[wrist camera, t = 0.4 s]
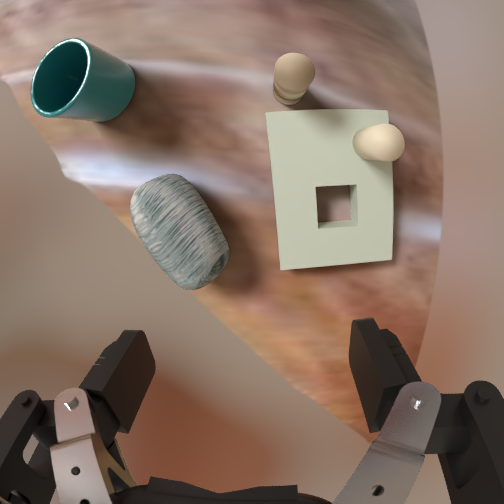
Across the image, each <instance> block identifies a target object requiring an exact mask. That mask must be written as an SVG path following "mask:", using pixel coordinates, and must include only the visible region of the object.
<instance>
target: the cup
mask: <svg viewBox="0 0 504 504" xmlns="http://www.w3.org/2000/svg"><path fill="white" fill-rule="evenodd" d="M134 90H135V76H134V72H133V70H132V69H131V67H130V66H129V65H128V64H127V63H126V62H124V61H122V60H120V59H119V58H117V57H115V56H113V55H111V54H109V53H107V52H106V51H104V50H102V49H100V48H98V47H96V46H94V45H92V44H90V43H88V42H86V41H84V40H82V39H79V38H69V39H66V40H63V41H61V42H59V43H58V44H56V45H55V46H54V47H52V48H51V49H50V50H49V51H48V52H47V53H46V54H45V56H44V57H43V58H42V60H41V61H40V63H39V65H38V66H37V68H36V71H35V73H34V76H33V79H32V84H31V101H32V104H33V107H34V109H35V110H36V111H37V113H39V114H40V115H42V116H44V117H50V118H63V119H75V120H85V121H94V122H104V121H108V120H111V119H113V118H115V117H116V116H118V115H119V114H120V113H121V112H122V111H123V110H124V109H125V108H126V107H127V105H128V104H129V102H130V101H131V99H132V96H133V93H134Z"/></svg>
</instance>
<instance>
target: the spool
mask: <svg viewBox="0 0 504 504" xmlns="http://www.w3.org/2000/svg"><path fill="white" fill-rule="evenodd" d="M130 212H131V218H132V222H133V224H134V227H135V229H136V232H137V234H138V235H139V237H140V239H141V241H142V242H143V244H144V246H145V247H146V249H147V250H148V252H149V253H150V255H151V256H152V257H153V259H154V260H155V261H156V262H157V264H158V265H159V266H160V267H161V269H162V270H163V271H164V272H165V273H166V274H167V275H168V276H169V277H170V278H171V279H172V280H173V281H174V282H175V283H176V284H177V285H178V286H179V287H181V288H183V289H186V290H195V289H199V288H202V287H204V286H205V285H207V284H209V283H210V282H211V281H213V280H214V279H215V278H216V277H217V276H218V275H219V274H220V273H221V272H222V270H223V269H224V267H225V266H226V264H227V262H228V259H229V255H230V250H229V247H228V243H227V241H226V239H225V237H224V235H223V233H222V231H221V229H220V227H219V226H218V224H217V222H216V220H215V218H214V216H213V215H212V213H211V212H210V210H209V208H208V207H207V205H206V203H205V202H204V200H203V199H202V198H201V196H200V195H199V193H198V192H197V191H196V190H195V188H194V187H193V185H192V184H191V183H190V182H188V181H187V180H186V179H185V178H183V177H182V176H180V175H177V174H167V175H162V176H160V177H157V178H154V179H152V180H150V181H148V182H146V183H144V184H143V185H141V186H139V187H138V188H137V189H136V190H135V192H134V194H133V196H132V199H131V204H130Z"/></svg>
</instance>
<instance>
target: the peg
mask: <svg viewBox="0 0 504 504" xmlns="http://www.w3.org/2000/svg"><path fill="white" fill-rule="evenodd" d="M314 77H315V67H314V64H313V63H312V61H311V60H310V59H309V58H308V57H306V56H304V55H302V54H299V53H288V54H285V55H283V56H281V57H280V58H279V59H278V60H277V62H276V64H275V72H274V84H273V94H274V96H275V98H276V99H277V100H278V101H279V102H280V103H282V104H285V105H293V104H296V103H298V102H299V101H300V100H301V99H302V97H303V95H304V94H305V92H306V90H307V89H308V87H309V85H310V84H311V82H312V81H313V79H314Z"/></svg>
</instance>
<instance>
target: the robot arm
mask: <svg viewBox="0 0 504 504" xmlns="http://www.w3.org/2000/svg"><path fill="white" fill-rule="evenodd" d="M349 364H350V368H351V371H352V375H353V378H354V381H355V384H356V387H357V391H358V394H359V397H360V401H361V404H362V407H363V411H364V414H365V418H366V421H367V425H368V428H369V432H370V433H373V432H378V431H380V432H379V434H378V436H377V438H376V439H375V441H373V442H372V444H371V445H370V447H369V449H368V450H367V452H366V454H365V455H364V457H363V459H362V460H361V462H360V463H359V465H358V467H357V468H356V470H355V471H354V473H353V474H352V476H351V477H350V479H349V480H348V482H347V483H346V485H345V486H344V488H343V489H342V490H341V492H340V493H339V495H338V496H337V497H336V499H335V500H334V501H333V503H331V502H329V501H327V500H325V499H322V498H319V497H316V496H313V495H308V494H303V493H298V491H297V485H289V486H265V487H264V486H262V487H254V488H249V489H244V490H238V491H232V492H226V493H215V492H212V491H209V490H205V489H203V488H199V487H196V486H194V485H191V484H188V483H185V482H181V481H174V480H168V479H162V478H156V477H150V480H149V483H148V484H147V485H139V486H138V485H137V483H136V482H135V481H134V479H133V477H132V476H131V473H130V471H129V469H128V466H127V464H126V462H125V459H124V457H123V454H122V452H121V449H120V446H119V443H118V441H117V439H116V438H115V435H116V433H117V431H118V432H122V433H129V431H130V429H131V426H132V424H133V422H134V419H135V417H136V415H137V412H138V410H139V408H140V405H141V403H142V401H143V398H144V396H145V394H146V392H147V389H148V387H149V385H150V383H151V381H152V378H153V376H154V374H155V360H154V357H153V354H152V352H151V349H150V346H149V343H148V341H147V338H146V335H145V333H144V332H143V331H142V330H124V331H123V332H122V334H121V335H120V337H119V338H118V340H117V341H115V342H113V343H112V344H110V345H109V346H108V347H106V348H105V349H104V351H103V352H102V354H101V355H100V358H99V359H98V360H97V361H96V362H95V365H93V367H92V368H91V370H90V371H89V373H88V374H87V376H86V377H85V379H84V380H83V382H82V383H81V385H80V386H79V388H69V389H67V390H64V391H63V392H61V393H60V394H59V395H58V396H57V397H56V399H55V400H45V401H42V400H41V398H40V397H39V395H38V394H37V393H36V392H35V391H33V390H26V391H23V392H21V393H19V394H18V395H17V396H16V397H15V398H14V400H13V401H12V402H11V404H10V406H9V407H8V408H7V410H6V411H5V413H4V415H3V416H2V417H1V419H0V504H50V501H51V499H52V496H53V494H54V491H55V489H56V486H57V491H58V495H59V499H60V504H404V503H405V501H406V499H407V497H408V495H409V493H410V491H411V489H412V487H413V485H414V483H415V481H416V478H417V476H418V474H419V472H420V469H421V467H422V464H423V462H424V458H425V456H424V455H423V454H438V458H439V461H440V464H441V467H442V471H443V474H444V478H445V481H446V485H447V489H448V492H449V496H450V500H451V504H504V399H503V397H502V395H501V394H500V392H499V390H498V389H497V388H496V387H495V386H494V385H493V384H491V383H489V382H487V381H475V382H472V383H471V384H469V385H468V386H467V388H466V389H465V391H464V393H463V394H462V393H461V394H441V393H439V391H438V390H437V389H436V388H435V387H434V386H433V385H431V384H429V383H426V382H422V381H421V379H420V377H419V375H418V373H417V371H416V370H415V368H414V366H413V364H412V362H411V361H410V359H409V357H408V355H407V354H406V352H405V350H404V348H403V347H402V345H401V343H400V341H399V340H398V338H397V336H396V335H395V334H393V333H392V332H390V331H389V330H388V329H381V330H380V329H379V328H378V326H377V324H376V322H375V320H374V319H373V318H364V319H357V320H353V321H352V326H351V337H350V346H349ZM32 434H33V435H34V437H35V438H36V439H37V440H38V441H39V443H38V445H37V447H36V449H35V451H34V453H33V455H32V457H31V459H30V461H29V463H28V465H27V464H26V463H25V461H24V459H23V450H24V448H25V446H26V445H27V443H28V441H29V439H30V437H31V435H32Z"/></svg>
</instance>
